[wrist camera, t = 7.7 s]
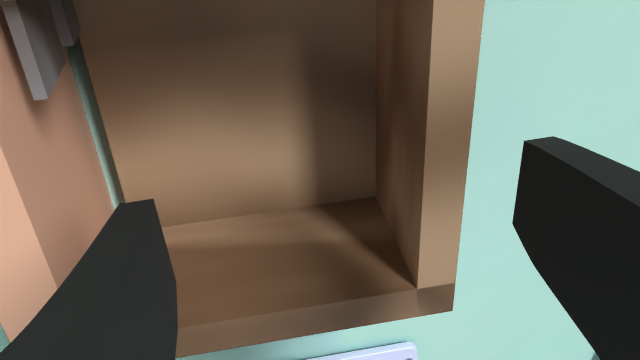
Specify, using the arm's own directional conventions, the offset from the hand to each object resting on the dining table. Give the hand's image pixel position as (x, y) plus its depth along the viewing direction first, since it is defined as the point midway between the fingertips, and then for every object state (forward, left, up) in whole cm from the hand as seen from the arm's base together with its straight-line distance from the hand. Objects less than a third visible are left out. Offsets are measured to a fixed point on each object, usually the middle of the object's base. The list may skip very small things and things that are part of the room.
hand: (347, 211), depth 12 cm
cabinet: (0, +3, -9) cm, 10 cm away
